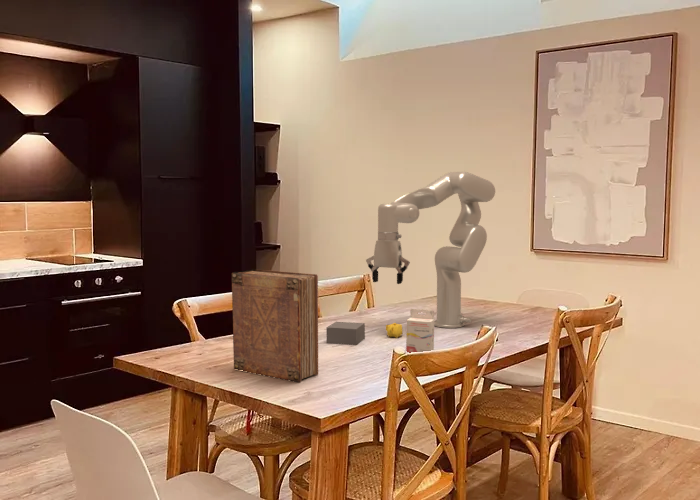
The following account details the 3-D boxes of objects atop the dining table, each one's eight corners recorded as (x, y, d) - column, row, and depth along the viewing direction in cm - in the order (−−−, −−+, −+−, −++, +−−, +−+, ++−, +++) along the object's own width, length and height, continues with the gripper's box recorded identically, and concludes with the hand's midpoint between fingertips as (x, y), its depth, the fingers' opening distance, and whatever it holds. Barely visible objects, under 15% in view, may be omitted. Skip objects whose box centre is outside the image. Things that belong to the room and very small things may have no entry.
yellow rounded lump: (390, 333, 260) (390, 320, 260) (404, 335, 258) (404, 321, 257) (381, 337, 253) (381, 324, 253) (396, 339, 251) (396, 325, 250)
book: (319, 375, 203) (318, 274, 200) (300, 382, 195) (299, 278, 192) (253, 363, 216) (252, 269, 214) (233, 370, 209) (231, 272, 206)
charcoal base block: (364, 339, 252) (364, 323, 251) (356, 346, 241) (356, 329, 241) (336, 337, 255) (336, 321, 254) (326, 344, 244) (326, 327, 244)
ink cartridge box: (405, 354, 227) (405, 310, 226) (409, 351, 232) (409, 308, 231) (431, 356, 225) (431, 312, 223) (434, 353, 229) (434, 309, 228)
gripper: (413, 237, 255) (412, 283, 256) (371, 235, 263) (370, 280, 264) (405, 238, 248) (405, 285, 250) (362, 236, 256) (362, 282, 257)
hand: (387, 282), depth 257 cm, fingers open, 9 cm apart
